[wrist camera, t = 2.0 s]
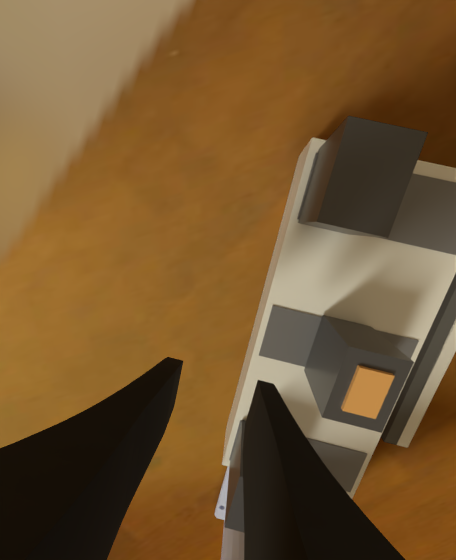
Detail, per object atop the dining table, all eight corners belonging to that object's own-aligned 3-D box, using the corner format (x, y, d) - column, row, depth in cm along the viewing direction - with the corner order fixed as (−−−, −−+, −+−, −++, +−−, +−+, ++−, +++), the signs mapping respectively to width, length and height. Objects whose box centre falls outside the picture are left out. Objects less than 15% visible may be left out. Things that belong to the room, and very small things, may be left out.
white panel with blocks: (335, 455, 21) (380, 577, 14) (226, 427, 22) (214, 530, 14) (446, 187, 16) (614, 155, 9) (299, 155, 16) (339, 98, 9)
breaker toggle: (349, 381, 16) (383, 436, 12) (304, 370, 16) (322, 420, 12) (370, 326, 15) (417, 364, 11) (322, 314, 15) (350, 348, 11)
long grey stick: (400, 437, 20) (407, 447, 19) (377, 431, 20) (384, 441, 20) (488, 253, 17) (503, 255, 16) (461, 247, 17) (474, 248, 16)
